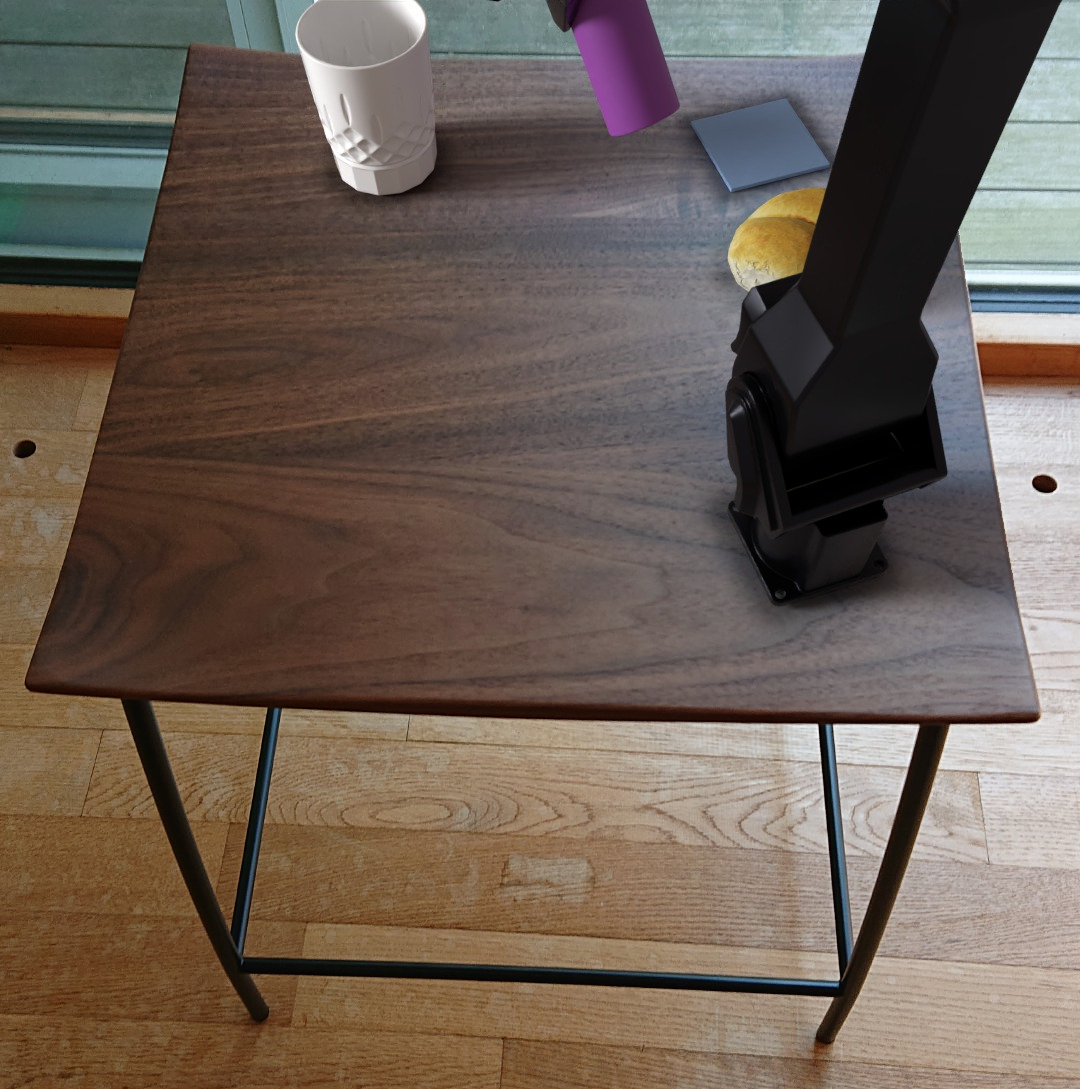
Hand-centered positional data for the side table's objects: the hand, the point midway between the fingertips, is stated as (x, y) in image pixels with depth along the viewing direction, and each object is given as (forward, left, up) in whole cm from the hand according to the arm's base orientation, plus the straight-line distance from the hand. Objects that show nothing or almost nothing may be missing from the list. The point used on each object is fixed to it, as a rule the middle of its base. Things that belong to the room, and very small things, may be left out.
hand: (595, 9), depth 62 cm
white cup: (+5, +13, -12) cm, 18 cm away
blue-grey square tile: (-2, -11, -11) cm, 16 cm away
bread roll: (-13, -9, -12) cm, 20 cm away
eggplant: (-5, -2, -5) cm, 7 cm away
